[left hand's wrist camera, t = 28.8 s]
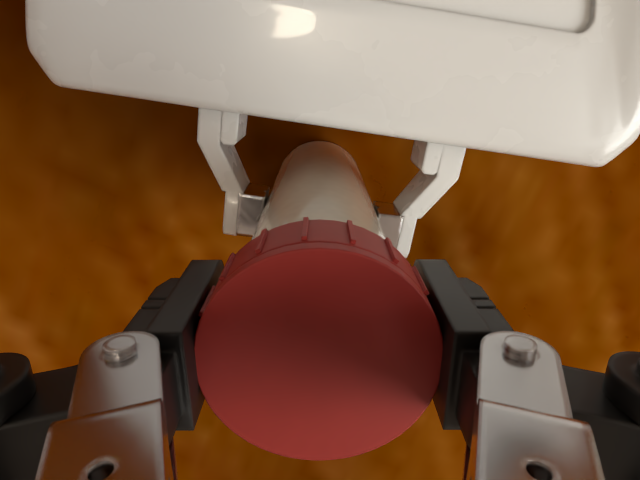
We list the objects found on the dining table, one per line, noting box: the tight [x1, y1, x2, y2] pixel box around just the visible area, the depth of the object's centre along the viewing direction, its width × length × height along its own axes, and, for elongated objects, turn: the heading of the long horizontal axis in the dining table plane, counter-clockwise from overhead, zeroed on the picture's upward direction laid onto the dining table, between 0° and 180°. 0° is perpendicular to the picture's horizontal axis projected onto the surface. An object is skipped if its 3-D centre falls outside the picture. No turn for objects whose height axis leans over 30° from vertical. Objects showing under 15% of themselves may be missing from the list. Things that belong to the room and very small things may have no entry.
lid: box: [194, 217, 443, 460], centre depth 10 cm, size 5×5×2 cm
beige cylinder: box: [251, 141, 386, 240], centre depth 17 cm, size 4×4×15 cm
